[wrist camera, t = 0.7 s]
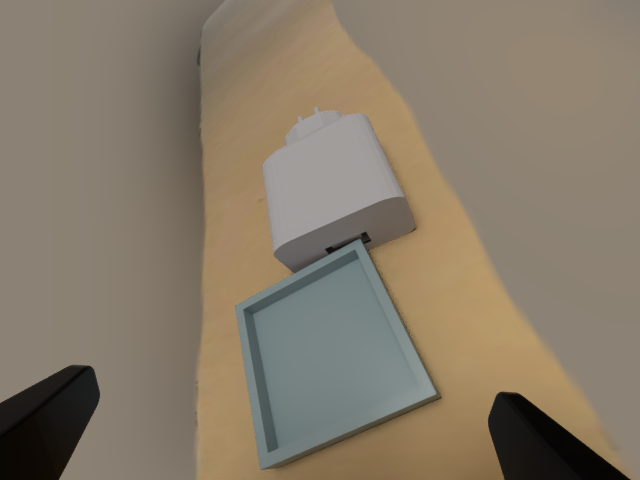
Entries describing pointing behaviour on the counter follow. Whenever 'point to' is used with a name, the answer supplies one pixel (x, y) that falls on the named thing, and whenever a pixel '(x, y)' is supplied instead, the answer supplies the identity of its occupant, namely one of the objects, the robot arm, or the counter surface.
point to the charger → (331, 190)
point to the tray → (327, 357)
